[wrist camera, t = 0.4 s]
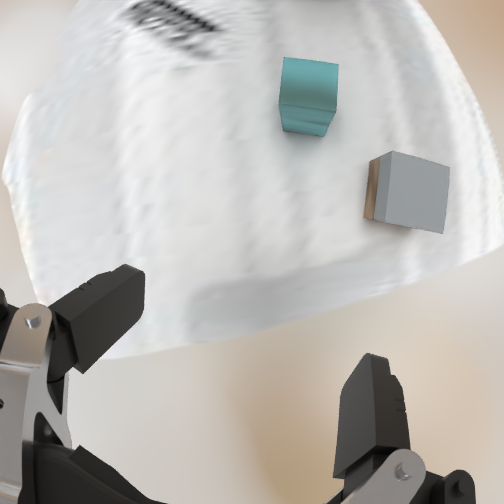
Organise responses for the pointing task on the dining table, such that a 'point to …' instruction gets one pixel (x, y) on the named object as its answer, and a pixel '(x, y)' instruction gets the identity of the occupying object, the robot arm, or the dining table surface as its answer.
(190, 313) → the dining table surface
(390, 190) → the grey slab
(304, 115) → the teal pillar
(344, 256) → the dining table surface
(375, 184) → the walnut slab
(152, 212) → the dining table surface
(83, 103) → the dining table surface
